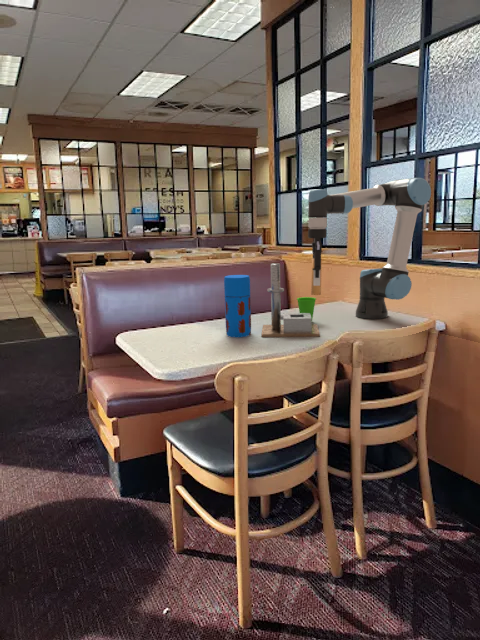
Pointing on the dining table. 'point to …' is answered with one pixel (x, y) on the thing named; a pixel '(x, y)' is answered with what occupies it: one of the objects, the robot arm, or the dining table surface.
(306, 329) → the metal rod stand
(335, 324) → the dining table surface
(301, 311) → the cup
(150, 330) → the dining table surface
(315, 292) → the pin
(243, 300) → the thermos
